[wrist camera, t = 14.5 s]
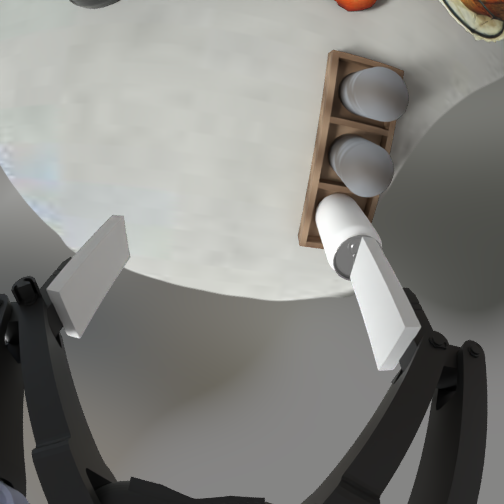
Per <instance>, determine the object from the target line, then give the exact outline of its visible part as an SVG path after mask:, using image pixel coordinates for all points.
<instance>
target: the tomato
mask: <svg viewBox="0 0 504 504" xmlns="http://www.w3.org/2000/svg"><path fill="white" fill-rule="evenodd" d="M335 1H337V3H338V5H339V6H340V7H342V8H344V9H346V10H347V11H359V10H364V9H367V8H370V7H372V6H373V5H374V4H375V2H376V1H377V0H335ZM337 3H336V4H337Z"/></svg>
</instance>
